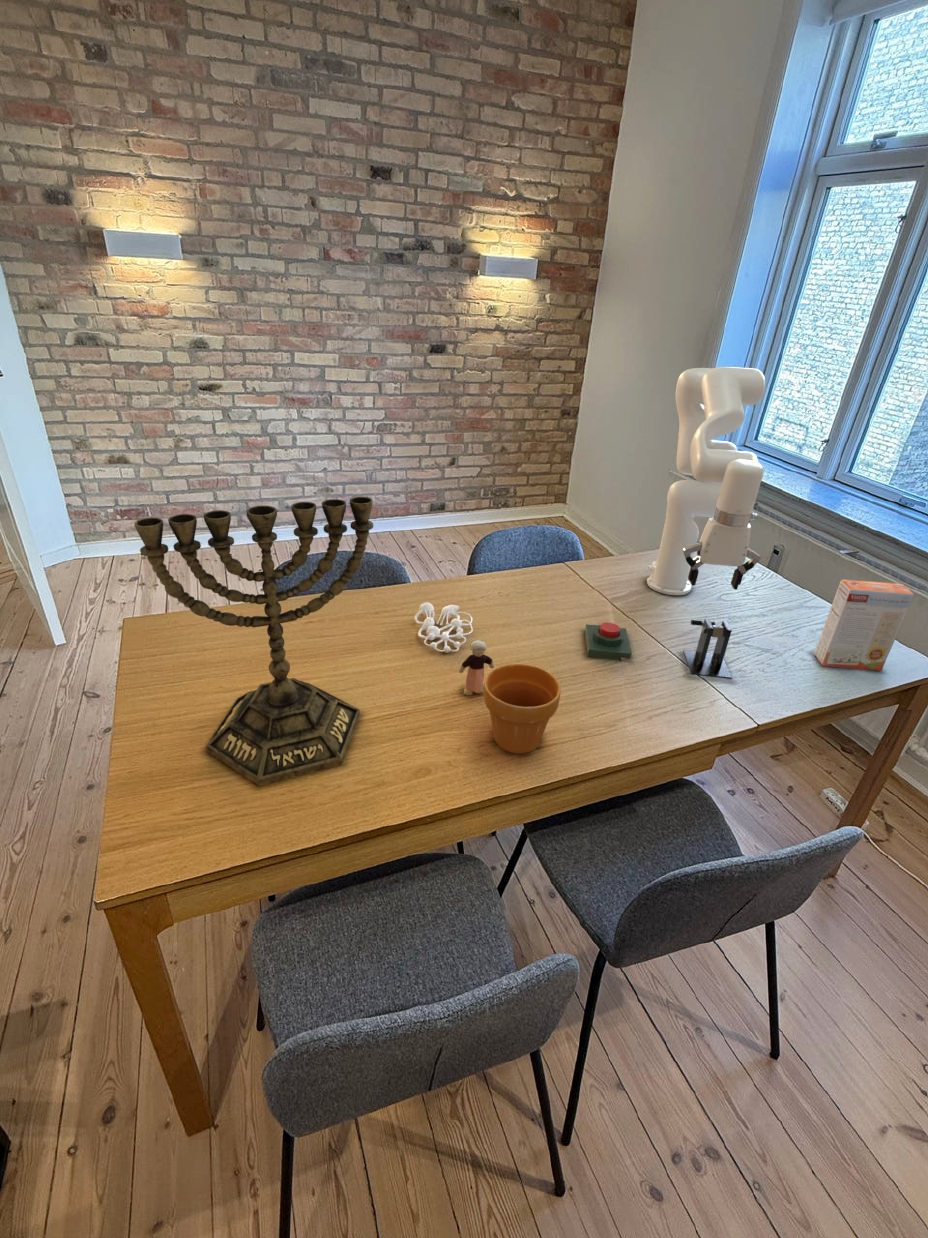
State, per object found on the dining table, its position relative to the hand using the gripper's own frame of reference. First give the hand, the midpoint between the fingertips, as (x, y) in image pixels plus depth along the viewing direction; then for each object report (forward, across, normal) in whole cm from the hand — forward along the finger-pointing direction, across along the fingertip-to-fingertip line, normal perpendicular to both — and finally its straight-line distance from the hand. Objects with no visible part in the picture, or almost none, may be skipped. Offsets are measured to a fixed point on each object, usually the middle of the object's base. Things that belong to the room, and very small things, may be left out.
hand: (712, 584), depth 151 cm
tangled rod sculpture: (+17, +62, +6) cm, 65 cm away
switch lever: (+9, 0, +6) cm, 11 cm away
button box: (+17, +23, +5) cm, 29 cm away
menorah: (+16, +87, +50) cm, 102 cm away
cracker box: (+17, -35, +2) cm, 39 cm away
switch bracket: (+16, 0, +11) cm, 20 cm away
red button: (+13, +23, +5) cm, 27 cm away
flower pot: (+16, +43, +44) cm, 64 cm away
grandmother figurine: (+16, +53, +30) cm, 63 cm away
